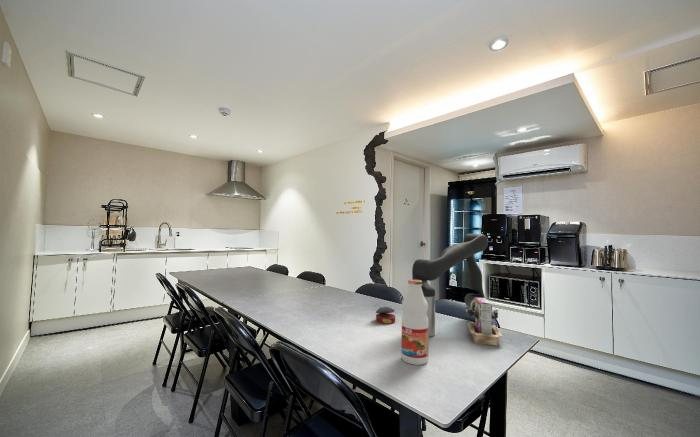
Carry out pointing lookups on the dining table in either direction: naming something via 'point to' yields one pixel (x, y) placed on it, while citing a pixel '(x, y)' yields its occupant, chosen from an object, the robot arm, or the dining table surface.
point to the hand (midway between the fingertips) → (484, 316)
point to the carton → (484, 335)
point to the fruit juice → (415, 325)
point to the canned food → (385, 316)
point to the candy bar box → (483, 316)
